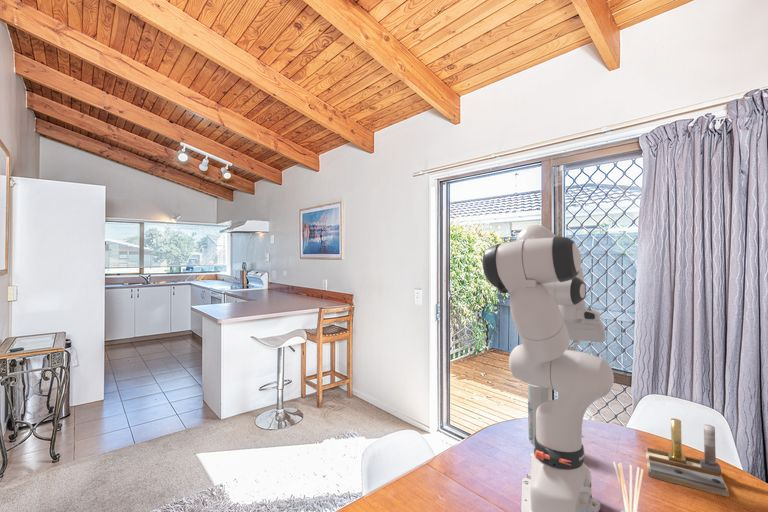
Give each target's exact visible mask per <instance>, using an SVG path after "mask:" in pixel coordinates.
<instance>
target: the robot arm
mask: <svg viewBox="0 0 768 512" xmlns="http://www.w3.org/2000/svg"><path fill="white" fill-rule="evenodd" d="M581 265H582V255H581V251H580V250H579V247H578V246H577V245H576V242H575V240H573V239H571V238H569V237H567V236H560V235H559V236H557V235H556V234H554V232H553V231H551V230H550V229H549V228H548V227H546V226H544V225H540V224H533V225H529V226H527V227H524V228H523V229H522V230H521V231H520V232H519V233H518V234H517V237H516V240H515V241H510V242H505V243H503V244H501V243H498V244H494V245H491V246H489V247H488V248H486V250H485V251H484V253H483V255H482V269H483V274H484V277H485V278H486V280H487V281H488V282H489V283H490V284H491V285H492V286H493V287H494V288H496V289H497V291H499V293H501V294H504V295H505V294H507V293H509V307H510V308H509V309H510V314H511V318H512V321H513V325H514V328H515V329H516V332H517V334H518V336H519V339H520V342H521V344H519V345H516V346H515V347H514V348H513V349H512V350H511V352H510V353H509V357H508V368H509V371H510V373H511V375H512V376H513V378H514V379H517V380H519V381H521V382H523V383H526V384H527V385H528V384H530V385H534V386H539V387H543V388H548V390H552V391H556V392H557V395H558V396H557V398H556V399H552V400H548V401H547V402H544V403H542V404H541V405H540V406H539V407H538V408H537V411H536V436H535V440H534V445H533V452H531V453H530V455H529V457H530V458H529V459H530V460H529V465H530V473H529V472H528V473H527V474H526V477H523V478H522V480H521V496H520V497H521V499H520V500H521V501H520V502H521V503H520V512H580V511H582V510H590V511H595V512H596V511H598V512H599V511H600V509H601V503H600V501H599V500H598V499H596V498H595V497H594V496H593V490H592V489H593V487H592V486H593V485H592V472H591V469H590V468H589V467H588V466H587V465H586V464H585V449H584V445H583V434H582V432H583V422H584V418H585V414H586V411H587V410H588V408H589V407H590V406H591V405H592V404H593V403H595V401H597V400H600V399H602V398H604V397H606V396H608V394H609V393H610V392H611V391H612V389H613V387H614V383H615V378H614V377H615V376H614V371H613V368H612V367H611V365H610V364H609V362H608V361H607V360H606V359H605V358H603V357H599V356H597V355H594V354H591V353H588V352H584V351H577V348H578V345H580V341H583V342H593V343H601V344H602V343H604V342H605V341H606V332H605V330H606V329H605V326H604V325H605V324H604V323H603V321H602V320H601V313H600V311H597V310H595V309H591V308H588V307H586V302H585V299H586V297H587V285H586V283H585V276H584V272H583V267H581ZM570 340H573V341H574V344H575V345H574V346H570V342H571V341H570Z"/></svg>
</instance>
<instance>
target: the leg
mask: <svg viewBox="0 0 768 512" xmlns="http://www.w3.org/2000/svg"><path fill="white" fill-rule="evenodd" d="M670 432H671V433H670V434H671V435H670V436H671V437H670V438H671V441H670V442H671V447H670V448H671V451H669V450H667V452H668V459H669V460H671V461H676V462H680V463H684V464H686V458H685V456H686V455H685V454H683V453H682V452H683V449H682V448H683V447H682V446H683V445H682V444H683V443H682V420H681V419H678V418H674V417H673V418H670Z"/></svg>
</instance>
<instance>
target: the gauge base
mask: <svg viewBox="0 0 768 512" xmlns="http://www.w3.org/2000/svg"><path fill="white" fill-rule="evenodd" d="M703 443H704V444H703V449H704V450H703V451H704V452H703V453H704V456H703V458H702V457H701V458H695V457H692V456H687V455H685V458H686V464H684V463H680V462H676V461H671V460H669V459H668V451H664V450H661V449H656V448H652V447H647V449H645V458H646V465H647V475H648V477H650V478H654V479H657V480H661V481H665V482H668V483H669V482H670V483H672V484H677V485H681V486H683V487H688V488H692V489H696V490H700V491H702V492H703V491H704V492H707V493H712V494H715V495H719V496H723V497H726V498H729V497H730V495H729V494H730V493H729V489H728V487H727V485H726V483H725V480H724V478H723V476H722V468H721V466H720V464H719V462H718V461H716V459H717V458H716V457H717V456H716V455H717V454H716V427H715V426H713V425H711V424H703Z"/></svg>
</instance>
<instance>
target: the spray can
mask: <svg viewBox="0 0 768 512" xmlns="http://www.w3.org/2000/svg"><path fill="white" fill-rule="evenodd" d="M547 401H549V389H548V388H543V387H539V386H534V385H530V384H528V383H527V412H528V413H527V415H528V418H527V419H528V442H529V441H530V442H531V443H530V442H529V443H530V444H531V445H533V446H534V440H535V436H536V411H537V408H538V407H539V406H540V405H541V404H542V403H544V402H547Z"/></svg>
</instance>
